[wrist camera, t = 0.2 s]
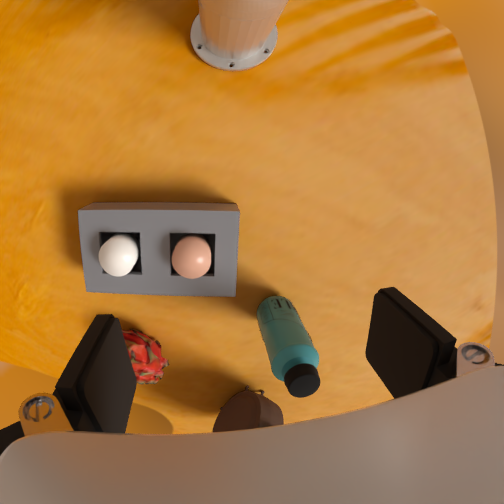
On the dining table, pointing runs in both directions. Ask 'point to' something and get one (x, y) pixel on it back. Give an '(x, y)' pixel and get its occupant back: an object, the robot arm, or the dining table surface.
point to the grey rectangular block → (161, 246)
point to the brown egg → (192, 256)
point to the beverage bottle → (288, 346)
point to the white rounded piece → (119, 254)
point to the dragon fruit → (144, 356)
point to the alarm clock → (248, 413)
